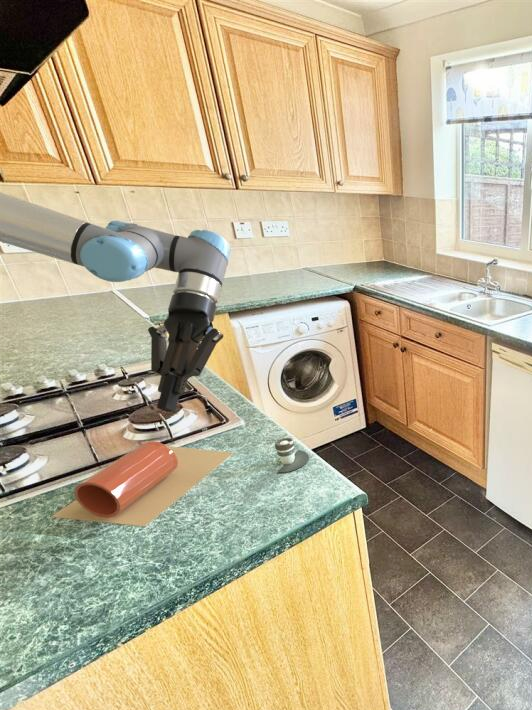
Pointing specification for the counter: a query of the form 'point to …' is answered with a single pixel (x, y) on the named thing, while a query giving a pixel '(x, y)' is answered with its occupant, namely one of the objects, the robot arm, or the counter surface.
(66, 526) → the counter surface
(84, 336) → the counter surface
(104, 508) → the tumbler
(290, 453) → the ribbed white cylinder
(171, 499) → the mat
